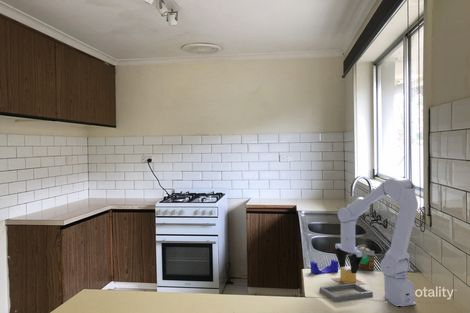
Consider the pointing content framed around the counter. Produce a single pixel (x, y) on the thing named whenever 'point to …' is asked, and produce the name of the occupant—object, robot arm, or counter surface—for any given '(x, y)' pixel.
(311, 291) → the counter surface
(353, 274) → the yellow and white block
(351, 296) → the parts tray
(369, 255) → the food container
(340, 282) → the brown square tile
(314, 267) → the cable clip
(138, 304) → the counter surface
